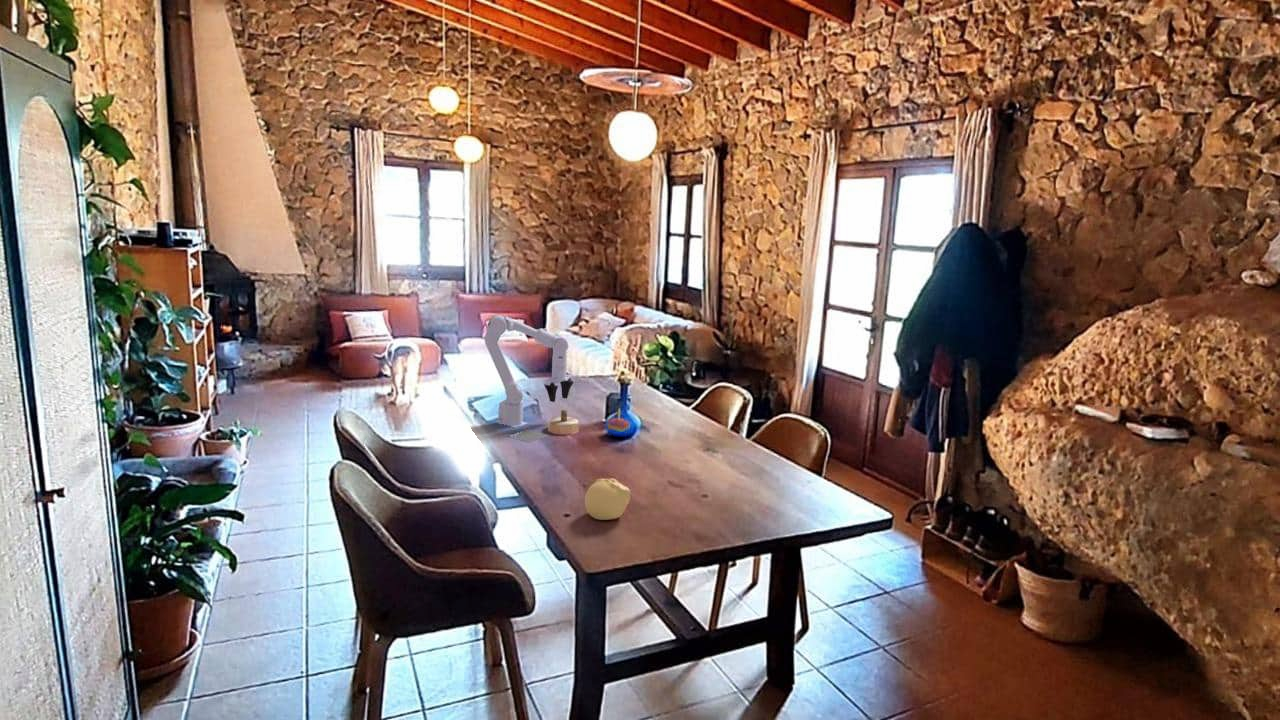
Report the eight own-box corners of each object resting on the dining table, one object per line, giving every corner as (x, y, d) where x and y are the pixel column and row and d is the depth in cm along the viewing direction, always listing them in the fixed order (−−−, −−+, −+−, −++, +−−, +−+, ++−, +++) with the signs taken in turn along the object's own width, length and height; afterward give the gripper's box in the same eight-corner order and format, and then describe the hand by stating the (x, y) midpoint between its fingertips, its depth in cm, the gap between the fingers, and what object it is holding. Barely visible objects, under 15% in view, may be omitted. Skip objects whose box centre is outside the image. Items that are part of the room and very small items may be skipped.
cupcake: (629, 440, 277) (630, 409, 274) (606, 438, 277) (607, 408, 274) (629, 433, 285) (631, 403, 283) (608, 432, 285) (609, 402, 283)
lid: (544, 422, 281) (544, 411, 281) (560, 416, 291) (560, 405, 290) (567, 427, 276) (567, 416, 275) (583, 421, 286) (583, 410, 285)
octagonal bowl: (541, 430, 283) (541, 422, 282) (561, 424, 292) (561, 416, 292) (565, 437, 276) (565, 428, 275) (585, 430, 286) (585, 421, 285)
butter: (635, 516, 206) (636, 480, 204) (605, 528, 198) (606, 490, 195) (606, 504, 214) (607, 469, 212) (576, 515, 205) (577, 479, 203)
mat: (504, 436, 273) (504, 435, 273) (526, 430, 283) (526, 429, 283) (528, 443, 267) (528, 442, 267) (550, 436, 276) (550, 435, 276)
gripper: (555, 370, 281) (554, 404, 284) (578, 365, 293) (577, 398, 295) (541, 368, 285) (540, 401, 287) (565, 363, 297) (564, 395, 299)
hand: (558, 399), depth 292 cm, fingers open, 7 cm apart
